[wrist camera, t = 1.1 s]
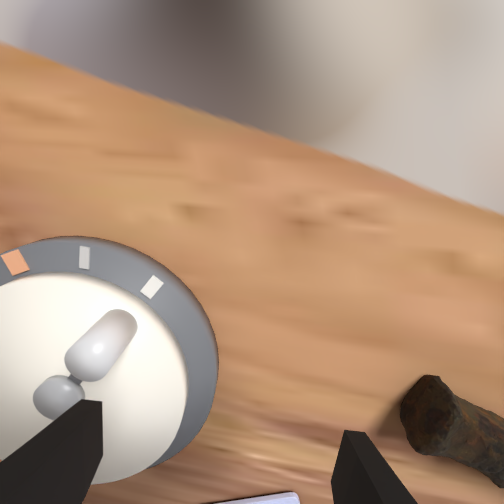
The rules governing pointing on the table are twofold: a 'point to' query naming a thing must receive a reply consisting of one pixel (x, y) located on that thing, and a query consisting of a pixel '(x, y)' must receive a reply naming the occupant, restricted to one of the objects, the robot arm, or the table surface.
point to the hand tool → (453, 428)
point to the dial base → (151, 292)
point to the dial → (89, 367)
